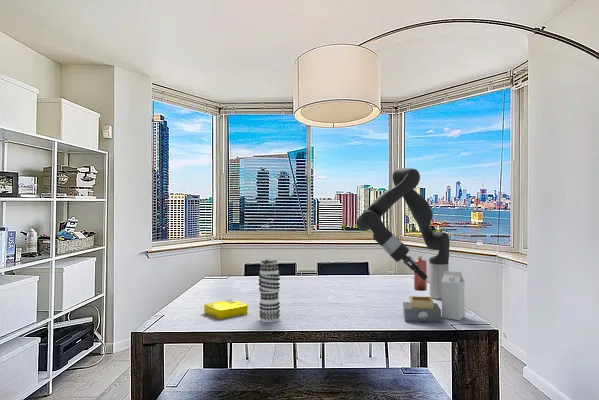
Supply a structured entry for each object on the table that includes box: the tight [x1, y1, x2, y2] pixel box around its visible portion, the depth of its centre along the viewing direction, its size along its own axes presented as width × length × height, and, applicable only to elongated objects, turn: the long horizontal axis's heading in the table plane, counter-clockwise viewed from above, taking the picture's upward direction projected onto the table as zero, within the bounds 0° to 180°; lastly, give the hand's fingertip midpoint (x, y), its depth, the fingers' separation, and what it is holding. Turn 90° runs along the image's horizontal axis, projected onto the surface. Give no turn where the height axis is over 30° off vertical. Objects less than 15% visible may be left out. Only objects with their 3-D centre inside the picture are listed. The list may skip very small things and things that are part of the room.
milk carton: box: [441, 270, 466, 321], centre depth 170 cm, size 7×7×19 cm
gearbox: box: [402, 295, 442, 324], centre depth 169 cm, size 13×14×8 cm
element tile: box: [203, 299, 249, 320], centre depth 181 cm, size 15×15×5 cm
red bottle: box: [413, 255, 428, 292], centre depth 170 cm, size 5×5×14 cm
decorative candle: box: [257, 258, 281, 323], centre depth 170 cm, size 9×9×25 cm
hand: (425, 277), depth 169 cm, fingers closed on red bottle, 5 cm apart
